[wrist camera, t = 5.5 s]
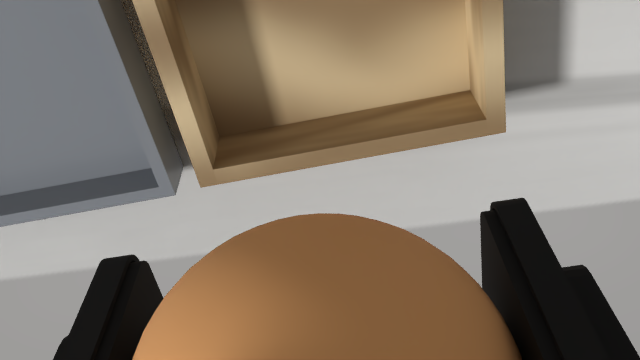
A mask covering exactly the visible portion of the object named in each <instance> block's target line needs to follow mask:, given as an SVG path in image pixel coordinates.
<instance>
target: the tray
mask: <svg viewBox="0 0 640 360" xmlns="http://www.w3.org/2000/svg"><path fill="white" fill-rule="evenodd" d="M132 2H133V4H134V7H135V10H136V12H137V15H138V18H139V21H140V23H141V26H142V29H143V32H144V34H145V37H146V40H147V42H148V45H149V48H150V51H151V53H152V56H153V59H154V62H155V64H156V67H157V70H158V72H159V75H160V78H161V81H162V83H163V86H164V89H165V92H166V94H167V97H168V100H169V102H170V105H171V108H172V111H173V113H174V116H175V119H176V122H177V124H178V127H179V130H180V132H181V135H182V138H183V141H184V143H185V146H186V149H187V152H188V154H189V157H190V160H191V162H192V165H193V168H194V171H195V173H196V176H197V179H198V182H199V184H200V187H206V186H212V185H217V184H223V183H228V182H234V181H240V180H245V179H251V178H256V177H262V176H267V175H273V174H278V173H284V172H289V171H295V170H300V169H306V168H311V167H317V166H322V165H328V164H333V163H339V162H344V161H350V160H355V159H361V158H366V157H372V156H377V155H383V154H389V153H394V152H400V151H405V150H411V149H416V148H422V147H427V146H433V145H438V144H444V143H449V142H455V141H460V140H466V139H471V138H477V137H482V136H488V135H493V134H499V133H504V132H506V113H505V68H504V23H503V0H132Z"/></svg>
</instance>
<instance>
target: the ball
mask: <svg viewBox="0 0 640 360" xmlns="http://www.w3.org/2000/svg"><path fill="white" fill-rule="evenodd" d="M132 360H522V358H521V354H520V351H519V349H518V347H517V345H516V343H515V341H514V339H513V336H512V334H511V332H510V330H509V328H508V326H507V325H506V323H505V321H504V319H503V317H502V315H501V314H500V312H499V311H498V309H497V308H496V306H495V305H494V304H493V302H492V301H491V299H490V298H489V297H488V295H487V294H486V293H485V292H484V290H483V289H482V288H481V287H480V285H479V284H478V283H477V282H476V281H475V280H474V279H473V278H472V277H471V276H470V275H469V274H468V273H467V272H466V271H465V270H464V269H463V268H462V267H461V266H460V265H458V264H457V263H456V262H455V261H454V260H453V259H452V258H451V257H449V256H448V255H446V254H445V253H443V252H442V251H441V250H439V249H438V248H436V247H434V246H433V245H431V244H430V243H428V242H427V241H425V240H424V239H422V238H420V237H418V236H416V235H414V234H412V233H410V232H408V231H406V230H404V229H401V228H398V227H396V226H393V225H390V224H387V223H384V222H381V221H377V220H373V219H369V218H364V217H360V216H354V215H345V214H308V215H298V216H293V217H288V218H283V219H279V220H275V221H272V222H269V223H266V224H263V225H260V226H257V227H255V228H252V229H250V230H248V231H246V232H243V233H241V234H239V235H237V236H235V237H233V238H231V239H229V240H228V241H226V242H224V243H223V244H221V245H220V246H218V247H216V248H215V249H214V250H212V251H211V252H210V253H208V254H207V255H206V256H205V257H203V258H202V259H201V260H200V261H199V262H197V263H196V264H195V265H194V266H192V267H191V268H190V269H189V270H188V271H187V272H186V273H185V274H184V275H183V276H182V278H181V279H180V280H179V281H178V282H177V283H176V284H175V286H173V288H172V289H171V290H170V291H169V292H168V293H167V295H166V296H165V297H164V299H163V300H162V302H161V303H160V305H159V306H158V308H157V309H156V311H155V312H154V314H153V316H152V317H151V319H150V321H149V323H148V324H147V326H146V328H145V329H144V331H143V334H142V336H141V338H140V341H139V343H138V346H137V348H136V351H135V353H134V356H133V359H132Z"/></svg>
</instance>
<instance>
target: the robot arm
mask: <svg viewBox="0 0 640 360" xmlns="http://www.w3.org/2000/svg"><path fill="white" fill-rule="evenodd" d="M480 225H481V257H482V289H483V290H484V292H485V293H486V294H487V295H488V297H489V298H490V299H491V301H492V302H493V304H494V305H495V306H496V308H497V309H498V311H499V312H500V314H501V315H502V317H503V319H504V321H505V323H506V325H507V326H508V328H509V330H510V332H511V334H512V336H513V339H514V341H515V343H516V345H517V347H518V349H519V351H520V354H521V358H522V360H640V357H639V355H638V354H637V352H636V350H635V348H634V347H633V345H632V343H631V342H630V340H629V338H628V336H627V335H626V333H625V331H624V330H623V328H622V326H621V324H620V323H619V321H618V319H617V318H616V316H615V314H614V312H613V311H612V309H611V307H610V306H609V304H608V302H607V300H606V299H605V297H604V295H603V293H602V292H601V290H600V288H599V286H598V285H597V283H596V281H595V280H594V278H593V276H592V274H591V273H590V272H589V270H588V269H587V268H586V267H585V266H583V265H577V266H570V267H563V268H562V267H561V265H560V264H559V262H558V260H557V258H556V256H555V254H554V252H553V250H552V248H551V247H550V245H549V243H548V241H547V239H546V237H545V235H544V233H543V231H542V229H541V228H540V226H539V224H538V222H537V220H536V218H535V216H534V214H533V212H532V211H531V209H530V207H529V205H528V203H527V201H526V200H525V199H524V198H518V199H511V200H504V201H497V202H492V203H491V206H490V211H485V212H481V215H480ZM162 300H163V296H162V294H161V292H160V289H159V287H158V285H157V282H156V280H155V278H154V275H153V273H152V270H151V268H150V266H149V264H148V263H147V262H146V261H139V259H138V258H137V257H136V256H135V255H126V256H120V257H113V258H106V259H103V260H101V262H100V264H99V266H98V268H97V270H96V273H95V275H94V278H93V280H92V282H91V284H90V287H89V289H88V291H87V294H86V296H85V299H84V301H83V303H82V305H81V308H80V310H79V313H78V315H77V317H76V319H75V322H74V324H73V326H72V329H71V331H70V333H69V335H68V336H67V337H65V338H64V339H63V340H62V342H61V344H60V345H59V347H58V350H57V352H56V354H55V356H54V359H53V360H132V359H133V356H134V353H135V351H136V348H137V346H138V343H139V341H140V338H141V336H142V334H143V331H144V329H145V328H146V326H147V324H148V323H149V321H150V319H151V317H152V316H153V314H154V312H155V311H156V309H157V308H158V306H159V305H160V303H161V302H162Z"/></svg>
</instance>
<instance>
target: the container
mask: <svg viewBox="0 0 640 360" xmlns="http://www.w3.org/2000/svg"><path fill="white" fill-rule="evenodd" d="M182 170H183V164H182V162H181V159H180V156H179V154H178V151H177V148H176V146H175V143H174V140H173V138H172V135H171V132H170V130H169V127H168V124H167V122H166V119H165V116H164V114H163V111H162V108H161V106H160V103H159V101H158V98H157V95H156V93H155V90H154V87H153V85H152V82H151V79H150V77H149V74H148V71H147V69H146V66H145V63H144V61H143V58H142V55H141V53H140V50H139V48H138V45H137V42H136V40H135V37H134V34H133V32H132V29H131V26H130V24H129V21H128V18H127V16H126V13H125V10H124V8H123V5H122V2H121V0H0V227H2V226H8V225H13V224H19V223H24V222H30V221H35V220H41V219H46V218H52V217H58V216H63V215H69V214H74V213H80V212H85V211H91V210H96V209H102V208H107V207H113V206H118V205H124V204H129V203H135V202H140V201H146V200H152V199H157V198H163V197H168V196H174V195H176V192H177V188H178V184H179V181H180V177H181V174H182Z"/></svg>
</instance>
